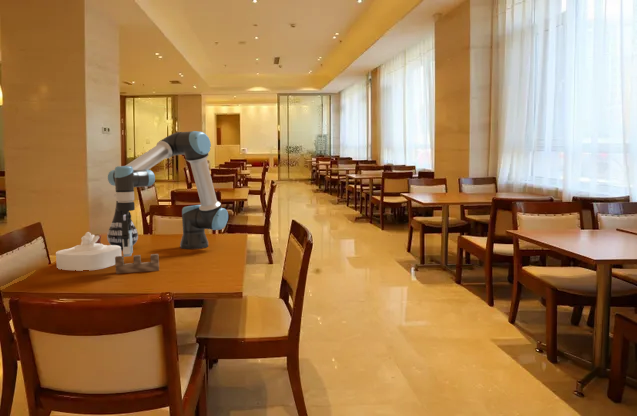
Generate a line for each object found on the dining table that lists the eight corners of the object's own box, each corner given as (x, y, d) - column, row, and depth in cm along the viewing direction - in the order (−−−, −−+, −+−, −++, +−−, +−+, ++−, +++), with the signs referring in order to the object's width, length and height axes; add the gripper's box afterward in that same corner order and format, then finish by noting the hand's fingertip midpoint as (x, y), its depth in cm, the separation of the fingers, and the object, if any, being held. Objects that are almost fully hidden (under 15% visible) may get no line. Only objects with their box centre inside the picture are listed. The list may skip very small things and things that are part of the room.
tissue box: (129, 260, 259) (127, 228, 257) (93, 272, 235) (91, 236, 233) (87, 258, 266) (85, 226, 264) (48, 269, 242) (45, 234, 240)
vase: (101, 250, 286) (98, 196, 283) (122, 245, 301) (119, 193, 298) (124, 251, 280) (121, 196, 277) (144, 246, 295) (142, 194, 292)
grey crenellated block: (159, 269, 238) (158, 253, 237) (158, 270, 235) (158, 255, 234) (116, 272, 233) (115, 256, 232) (115, 273, 230) (115, 257, 230)
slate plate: (125, 252, 237) (124, 230, 236) (132, 252, 237) (131, 230, 236) (123, 256, 227) (122, 233, 226) (131, 256, 228) (129, 233, 227)
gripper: (119, 199, 240) (121, 248, 242) (113, 204, 218) (115, 257, 220) (136, 199, 242) (138, 247, 244) (132, 203, 220) (134, 256, 222)
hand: (127, 251), depth 232 cm, fingers closed on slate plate, 10 cm apart
